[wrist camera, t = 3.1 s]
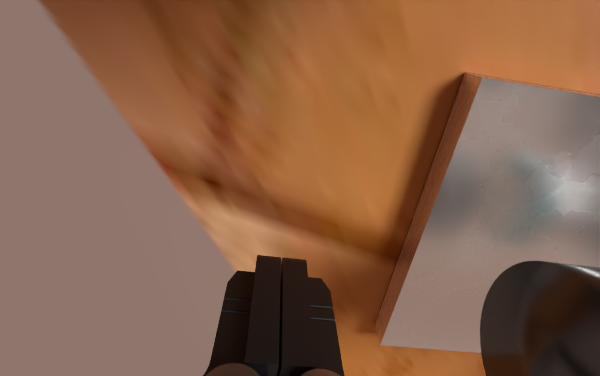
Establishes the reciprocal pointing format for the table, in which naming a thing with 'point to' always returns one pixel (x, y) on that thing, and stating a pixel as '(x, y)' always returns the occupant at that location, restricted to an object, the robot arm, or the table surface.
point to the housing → (495, 207)
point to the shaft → (542, 321)
